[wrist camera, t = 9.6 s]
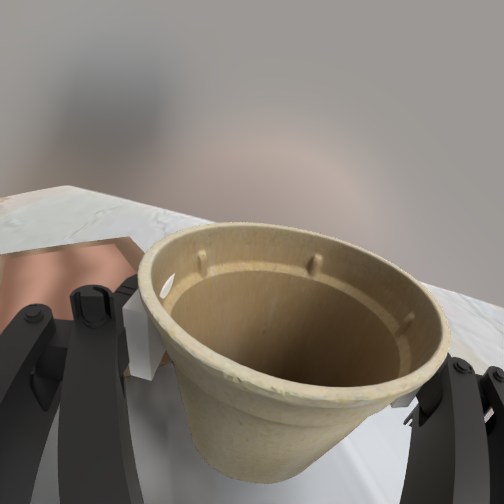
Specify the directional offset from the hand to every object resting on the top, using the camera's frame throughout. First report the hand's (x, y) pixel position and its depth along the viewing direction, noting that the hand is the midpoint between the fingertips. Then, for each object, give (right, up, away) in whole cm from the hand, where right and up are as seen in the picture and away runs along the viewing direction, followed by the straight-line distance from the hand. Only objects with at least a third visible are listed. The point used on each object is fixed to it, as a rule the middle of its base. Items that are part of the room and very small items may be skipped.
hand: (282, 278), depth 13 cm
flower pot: (-1, -7, -2) cm, 8 cm away
